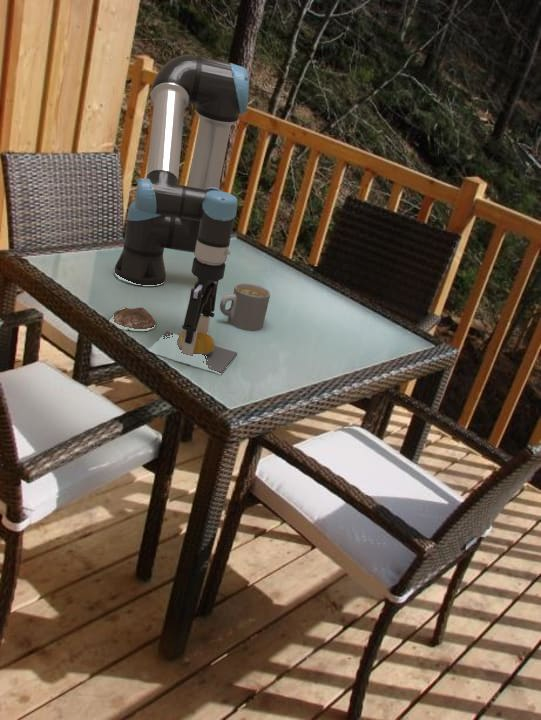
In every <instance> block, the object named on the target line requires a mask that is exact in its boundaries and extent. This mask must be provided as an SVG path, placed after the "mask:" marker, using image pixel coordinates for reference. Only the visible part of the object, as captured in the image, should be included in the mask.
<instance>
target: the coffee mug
mask: <svg viewBox="0 0 541 720" xmlns="http://www.w3.org/2000/svg"><path fill="white" fill-rule="evenodd" d="M270 297H271V292H270V291H269V290H268V288H265V287H263V286H261V285H258V284H253V283H248V282H247V283H245V282H241V283H237V284H236V285H235V286H234V289H233V293H232V294H225V295H224V296H222V298H221V300H220V303H219V310H220V311H221V313H222V314H223V315H224V316H226V317H228V319H227V321H228V323H229V325H231V326H232V327H235V328H237V329H240V330H243V331H247V332H256V331H261V330H262V329H263V328H264V324H265V320H266V315H267V310H268V308H269V307H268V306H269V302H270V301H269V300H270ZM229 301H231V304H230V308H228V309H226V305H227V303H228V302H229Z"/></svg>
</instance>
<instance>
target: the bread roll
mask: <svg viewBox="0 0 541 720" xmlns="http://www.w3.org/2000/svg"><path fill="white" fill-rule="evenodd" d="M179 335H180V336H179V338H178V340H177V345H178V347H179V349H180V350H182V346H183V341H184V335H185V331H184V332H182V333H180V334H179ZM214 346H215V341H214V339H213V338H212V336H210V335H209V334H208V333H207V334H204V333H197V336H196V342H195V347H194V352H193V354H202V355H206V354H209V353H211V352H212V351H213V349H214Z"/></svg>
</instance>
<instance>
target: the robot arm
mask: <svg viewBox="0 0 541 720" xmlns="http://www.w3.org/2000/svg"><path fill="white" fill-rule="evenodd" d="M249 80H250V79H249V74H248V70H247V69H246V68H245V67H244V66H242V65H241V66H240V65H237V64H235V63H232V62H228V61H224V60H223V61H222V60H218V59H212V58H207V57H202V56H197V55H195V54H183V55H179V56H176V57H174V58H172V59H170V60H169V61H168V62H166V64H164V65H163V66H162V67H161V69H160V70H159V71H158V73H156V75H155V77H154V80H153V82H152V86H151V92H150V99H151V102H152V103H153V111H152V112H153V113H152V118H151V119H152V120H151V121H152V122H151V130H150V139H149V146H148V148H149V149H148V158H147V165H146V166H147V167H146V174H145V175H146V177H145V178H143V177H141V178H139V179H138V180H137V183H136V192H135V200H134V201H132V202H131V203H130V204H129V207H128V213H127V216H126V228H125V235H124V239H123V240H124V242H123V249H122V252H121V253H120V256H119V258H118V260H117V262H116V264H115V265H114V270H115V273H116V274H117V275H119V276H120V277H122V278H124V279H126V280H128V281H131V282H133V283H136V284H141V285H157V284H161V283H163V282H164V281H165V282H166V276H167V273H166V272H167V271H166V267H165V261H164V251H165V249H169V250H175V251H181V252H188V253H192V254H193V256H194V258H193V261H192V267H191V273H192V275H193V276H195V277H196V278H197V281H196V282H195V283H194V287H192V288H191V289H190V296H189V301H188V304H187V308H186V313H185V317H184V321H183V325H182V326H181V328H182V330H185V331H184V332H185V335H184V341H183V346H182V352H181V353H183V354H186V355H190V356H193V352H194V347H195V342H196V336H197V333H204V334H207V335H208V332H209V327H210V321H211V318H214V317H215V313H214V312H215V307H216V301H217V292H218V285H219V281H221V280H222V279H224V275H225V271H226V267H227V266H226V262H227V258H228V255H231V251H230V250H229V248H230V243H231V239H232V235H233V234H232V233H233V228H234V225H235V224H234V223H235V220H236V216H237V209H238V208H237V207H238V198H237V197H236V196H235V195H233V193H232V194H231V193H229V192H226V191H223V190H221V189H220V188H219V187H220V182H221V177H222V173H223V172H222V171H223V167H224V162H225V157H226V152H227V147H228V143H229V139H230V133H231V127H232V126H233V125H235V124H236V123H238V121H239V117H240V116H242V115H245V114H246V113H247V108H248V103H249V88H250V87H249V85H250V84H249V82H250V81H249ZM189 104H190V105H196V106H195V109H194V110H195V113H196V115H197V116H198V117H199V121H198V127H197V133H196V137H195V138H196V139H195V143H194V147H193V148H194V149H193V150H194V151H193V154H192V160H191V167H190V170H189V177H188V182H187V185H182V184H179V175H180V164H181V163H180V161H181V152H182V151H181V150H182V140H183V139H182V138H183V131H184V130H183V128H184V117H185V116H184V115H185V109H186V108H187V107H188V106H189ZM165 282H164V283H165Z"/></svg>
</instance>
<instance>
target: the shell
mask: <svg viewBox="0 0 541 720" xmlns="http://www.w3.org/2000/svg"><path fill="white" fill-rule="evenodd" d="M124 308H125V309H122V308H121V309H122V310H120V309H119V310H116V311H114V313H113V314H114V318H113V319H114V322H115V323H117V324H119V325H122V326H124V327H129V328H134V329H147V328H152V327H154V325H155V324H156V325H157V322H155V321H156V320H155V319H154V317H153V315H152V314H150V313H149V312H148V311H147V310H146V309H145V307H136V308H129V307H124Z"/></svg>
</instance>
